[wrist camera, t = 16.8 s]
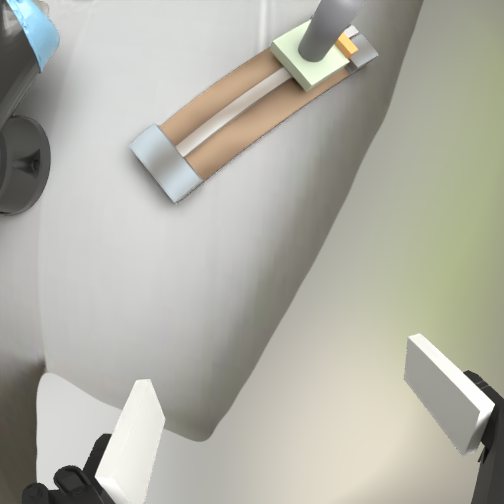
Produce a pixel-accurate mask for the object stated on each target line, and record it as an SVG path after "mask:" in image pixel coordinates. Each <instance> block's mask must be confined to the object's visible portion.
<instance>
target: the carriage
mask: <svg viewBox="0 0 504 504" xmlns="http://www.w3.org/2000/svg"><path fill="white" fill-rule="evenodd" d="M364 2H365V1H364V0H321V2H320V4H319V6H318V8H317V10H316V12H315V14H314V16H313V18H312V19H311V20H309V21H307V22H305V23H303V24H302V25H300V26H298V27H296V28H294V29H293V30H291V31H289V32H287V33H286V34H284V35H282V36H280V37H279V38H277V39H275V40H274V41H273V42H272V45H271V49H270V51H271V52H272V53H273V54H274V55H275V57H276V58H277V59H278V60H279V61H280V62H281V63H282V64H283V65H284V67H285V68H286V69H287V70H288V71H289V72H290V73H291V75H292V76H293V77H294V78H295V79H296V80H297V82H298V83H299V84H300V85H301V86H302V88H303V89H304V90H305V91H306V92H308V91H309V90H311V89H312V88H314V87H315V86H317V85H318V84H320V83H321V82H323V81H324V80H326V79H327V78H329V77H330V76H332V75H333V74H335V73H337V72H338V71H340V70H341V69H343V68H344V67H345V66H346V65H347V64H348V63H349V62H350V61H349V60H348V59H347V58H346V57H345V55H344V54H343V53H342V52H341V51H340V50H339V48H338V47H337V46H336V45H335V42H336V41H337V40H338V38H339V37H340V36H341V34H342V33H343V32H344V30H345V29H346V28H347V27H348V25H349V24H350V23H351V21H352V20H353V19H354V18H355V16H356V15H357V14H358V13H359V11H360V10H361V9H362V7H363V6H364Z"/></svg>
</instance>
